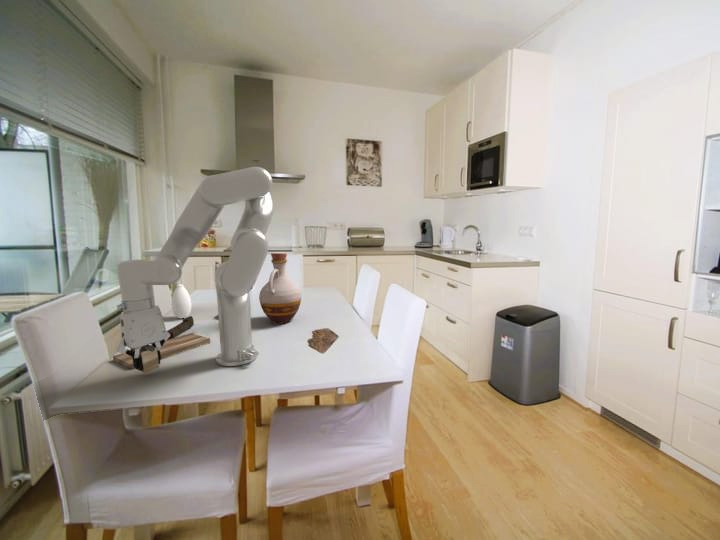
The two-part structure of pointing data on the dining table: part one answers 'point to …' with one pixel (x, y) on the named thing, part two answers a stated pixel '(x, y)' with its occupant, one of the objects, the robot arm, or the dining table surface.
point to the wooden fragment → (322, 339)
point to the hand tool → (181, 327)
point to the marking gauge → (149, 358)
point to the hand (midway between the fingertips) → (148, 365)
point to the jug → (280, 293)
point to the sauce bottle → (181, 302)
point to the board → (168, 348)
